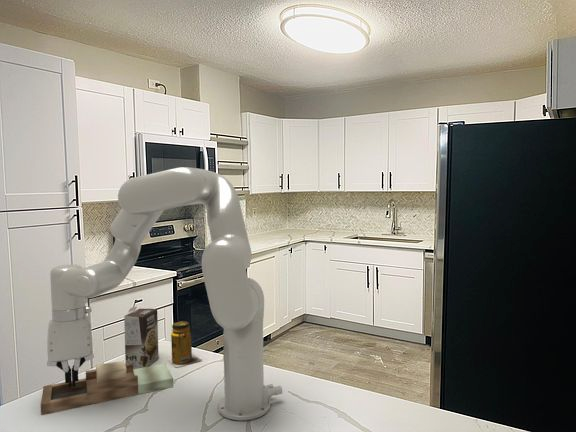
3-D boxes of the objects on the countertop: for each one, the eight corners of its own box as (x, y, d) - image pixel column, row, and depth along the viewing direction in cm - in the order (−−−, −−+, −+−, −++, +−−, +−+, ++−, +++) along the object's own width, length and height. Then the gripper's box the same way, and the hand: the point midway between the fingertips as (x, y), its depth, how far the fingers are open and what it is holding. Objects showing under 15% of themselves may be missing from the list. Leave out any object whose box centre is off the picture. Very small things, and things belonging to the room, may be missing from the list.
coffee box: (144, 370, 127) (142, 316, 126) (124, 368, 128) (122, 315, 127) (159, 358, 135) (158, 308, 134) (141, 357, 137) (139, 307, 136)
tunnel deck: (165, 371, 125) (164, 356, 125) (173, 386, 116) (172, 370, 115) (43, 395, 111) (43, 378, 111) (41, 415, 102) (40, 396, 101)
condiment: (167, 360, 134) (166, 322, 133) (192, 354, 139) (191, 317, 138) (176, 368, 128) (175, 328, 127) (202, 361, 133) (201, 323, 132)
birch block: (124, 374, 118) (123, 360, 118) (126, 383, 113) (126, 368, 112) (96, 379, 115) (95, 365, 114) (97, 389, 109) (97, 373, 109)
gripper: (100, 306, 115) (102, 373, 116) (35, 314, 108) (39, 385, 109) (102, 313, 108) (104, 384, 109) (33, 322, 102) (37, 397, 103)
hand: (72, 384), depth 109 cm, fingers closed
